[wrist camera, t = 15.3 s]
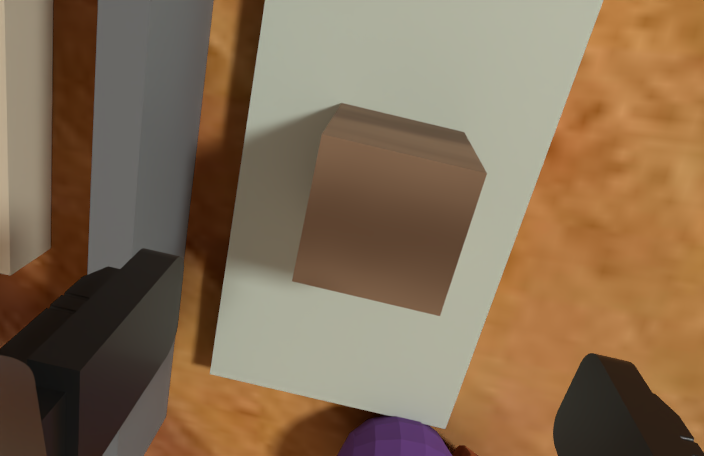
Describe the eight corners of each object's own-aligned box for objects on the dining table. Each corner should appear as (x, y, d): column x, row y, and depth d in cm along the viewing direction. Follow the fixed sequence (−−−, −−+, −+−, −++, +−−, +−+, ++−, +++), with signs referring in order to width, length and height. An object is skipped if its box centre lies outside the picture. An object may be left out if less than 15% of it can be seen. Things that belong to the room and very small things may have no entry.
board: (303, -194, 19) (296, -210, 18) (630, -114, 19) (648, -124, 18) (219, 356, 28) (209, 373, 27) (442, 408, 28) (445, 429, 27)
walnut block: (341, 102, 22) (321, 134, 16) (464, 132, 22) (486, 173, 16) (317, 217, 23) (291, 281, 18) (429, 244, 23) (439, 316, 18)
